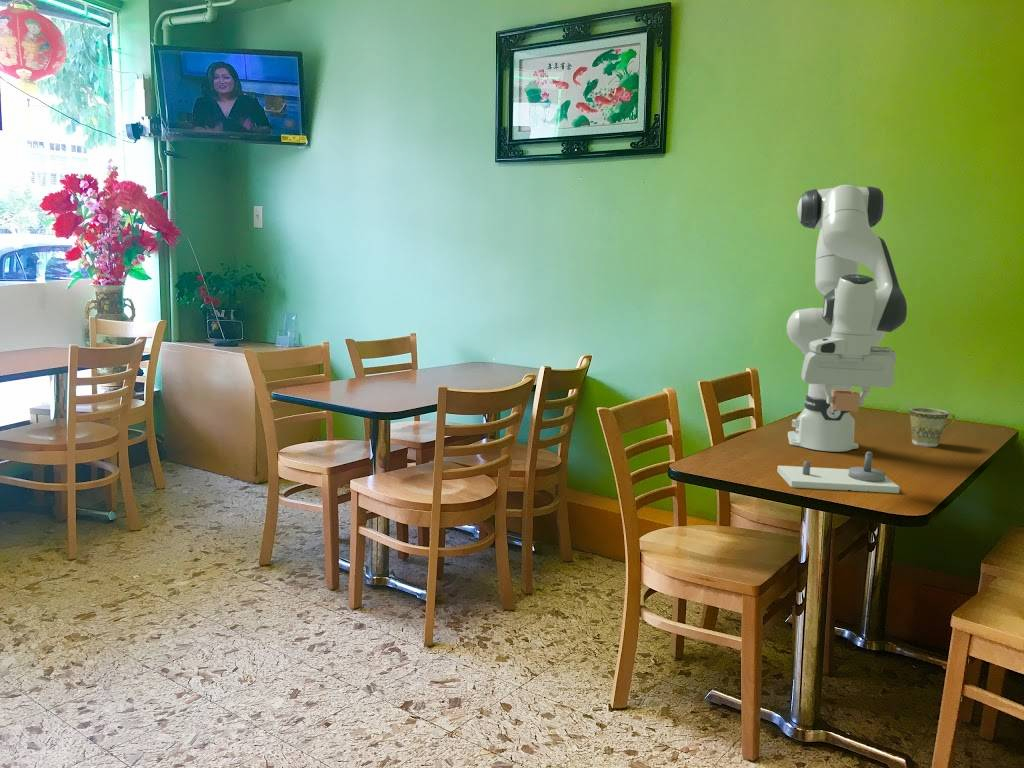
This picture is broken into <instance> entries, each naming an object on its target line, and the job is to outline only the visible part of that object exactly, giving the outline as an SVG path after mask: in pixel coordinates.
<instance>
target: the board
mask: <svg viewBox="0 0 1024 768" xmlns="http://www.w3.org/2000/svg"><path fill="white" fill-rule="evenodd" d="M873 455H874V454H873V452H872V451H866V452H865V455H864V463H863V465H864V466H852V467H849V468H848V469H847V468H831V467H814V466H812V467H811V464H812V463H811V461H809V460H808V461H807V460H804V461H803V464H802V466H793V465H777V469H776V470H777V471H776V472H777V473H778V474H779V475H780V477H782V478H783V480H784V481H785V482H786V483H787V485H789V487H790V488H795V489H797V488H798V489H800V488H801V489H813V490H814V489H816V490H833V491H834V490H835V491H848V490H851V492H852V491H853V492H867V493H868V491H869V493H874V492H875V493H885V494H889V493H890V494H900V489H901V488H900V487H901V486H899V485H898V484H896V483H895V482H894V481H893V480H891V479H889V477H887V475H886V472H885V471H883V470H881V469H878V468H873V467H872V466H873V465H872V464H873Z"/></svg>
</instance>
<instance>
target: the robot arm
mask: <svg viewBox="0 0 1024 768" xmlns="http://www.w3.org/2000/svg"><path fill="white" fill-rule="evenodd" d="M885 210H886V199H885V197H884V193H883V191H882V190H881V189H880V188H879V187H876V186H875V187H874V186H865V187H864V186H855V185H852V184H840V185H838V186H835V187H830V188H829V187H828V188H822V189H816V188H815V189H809V190H807V191H805V192H803V193H802V195H801V197H800V198H799V201H798V203H797V208H796V212H797V213H796V214H797V218H798V220H799V222H800V224H801V226H803V227H804V228H808V229H816V228H818V229H820V230H819V233H818V237H817V242H816V250H815V266H814V267H815V271H814V273H815V274H814V285H815V288H816V290H817V291H818V292H819V293H820V294H821V295H822V296H823V307H807V308H801V309H797V310H794V311H793V312H792V313H791V314H790V316H789V318H788V320H787V322H786V334H787V336H788V338H789V340H790V341H791V342H792V343H793V344H794V345H795V346H796V347H797V348H798V349H799V350H800V351H801V352H802V354H803V355H804V360H803V363H802V368H801V373H800V374H801V375H800V376H801V379H802V381H803V382H804V383H805V384H806V385H808V391H807V392H808V393H807V395H806V396H805V399H804V405H803V407H804V409H802V411H801V412H800V414H799V415H798V416H797V418H795V419H793V418H792V420H791V427H792V428H795V429H794V430H791V431H787V438H788V443H789V445H791V446H797V447H801V448H805V449H810V450H814V451H822V452H836V453H837V452H839V453H840V452H849V451H851V450H855V449H859V444H858V443H857V442H855V418H853V416H852V415H851V414H850V412H851V411H839V410H835V409H833V408H832V407H830V404H834V403H835V401H834V400H835V396H832V395H831V392H832V390H849V391H852V387H860V390H862V391H861V393H859V394H860V401H859V406H864V401H865V398H866V397H867V396H868V395H869V393H870V392H871V387H873V388H892V386H893V385H894V384H895V364H896V362H897V353H896V351H895V350H893V349H892V348H891V347H889V346H881V347H880V346H878V345H879V344H881V342H882V340H883V339H884V338H885V337H884V336H885V334H886V333H892V332H893V331H895V330H897V329H898V328H899V327H901V326H902V325H903V324H904V323H905V322H906V320H907V315H908V305H907V299H906V297H905V294H904V293H903V290H902V289H901V286H900V283H899V281H898V277H897V274H896V271H895V267H894V264H893V261H892V258H891V257H892V256H891V255H890V250H889V248H888V246H887V243H886V242H885V240H884V239H883V238H881V237H880V236H878V235H877V233H875V231H873V229H872V228H873V227H875V226H877V224H879V222H880V221H881V220H882V218H883V216H884V213H885ZM859 264H861V265H863V266H865V267H867V268H868V269H869V270H870V271H871V272H872V274H873V278H872V277H871V276H868V275H864V274H859ZM876 288H877V289H876Z"/></svg>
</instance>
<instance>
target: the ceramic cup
mask: <svg viewBox="0 0 1024 768" xmlns="http://www.w3.org/2000/svg"><path fill="white" fill-rule="evenodd" d="M950 416H952V420H951V421H950V422H948V423H947V424H946V421H947V419H948V417H950ZM955 420H956V415H954V414H953V413H951V412H948V411H945V410H942V409H937V408H932V407H931V408H930V407H912V408H911V407H910V408H909V421H910V433H911V434H910V435H911V443H912V444H913V445H915V446H920V447H927V448H935V447H938V445H939V443H940V440H941V437H942V433H943V430H945V429H946V428H947V427H948V426H950V425H952V424H953V423H954V422H955Z"/></svg>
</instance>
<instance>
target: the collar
mask: <svg viewBox="0 0 1024 768" xmlns="http://www.w3.org/2000/svg"><path fill="white" fill-rule="evenodd" d="M860 394H861V393H858V392H857V391H855V390H851V391H849V390H832V392H831V395H832V396H835V400H834V401H835V403H834V404H830V407H832V408H833V409H835V410H839V411H850V412H859V411H860V410H859V408H860V405H859V401H860Z"/></svg>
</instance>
